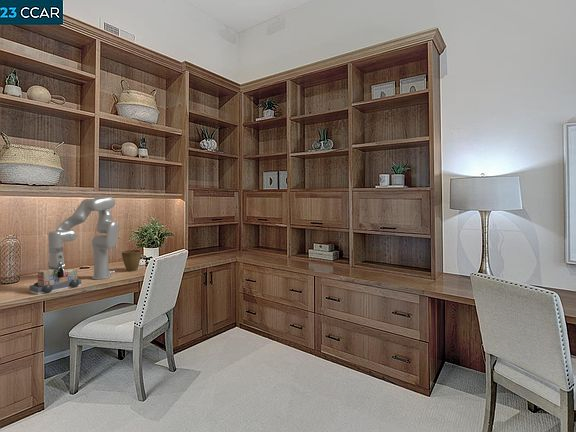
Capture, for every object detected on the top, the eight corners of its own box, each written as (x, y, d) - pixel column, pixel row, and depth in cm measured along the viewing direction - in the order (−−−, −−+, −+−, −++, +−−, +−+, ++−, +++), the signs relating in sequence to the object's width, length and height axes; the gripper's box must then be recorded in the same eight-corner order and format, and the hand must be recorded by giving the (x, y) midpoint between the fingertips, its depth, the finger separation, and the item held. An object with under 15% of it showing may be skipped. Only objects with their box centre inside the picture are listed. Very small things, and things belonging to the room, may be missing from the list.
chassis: (71, 283, 235) (71, 276, 235) (82, 285, 228) (82, 278, 228) (28, 291, 213) (28, 283, 212) (39, 294, 206) (39, 286, 206)
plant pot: (121, 269, 282) (121, 250, 281) (140, 268, 289) (140, 249, 288) (122, 273, 268) (121, 253, 268) (142, 271, 276) (142, 251, 275)
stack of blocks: (71, 282, 232) (70, 264, 232) (77, 283, 230) (77, 265, 229) (37, 290, 213) (37, 270, 212) (44, 291, 210) (43, 271, 210)
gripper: (69, 250, 218) (69, 277, 219) (55, 248, 227) (55, 274, 228) (56, 252, 212) (57, 279, 213) (42, 250, 220) (43, 276, 221)
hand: (56, 276), depth 220 cm, fingers open, 9 cm apart
